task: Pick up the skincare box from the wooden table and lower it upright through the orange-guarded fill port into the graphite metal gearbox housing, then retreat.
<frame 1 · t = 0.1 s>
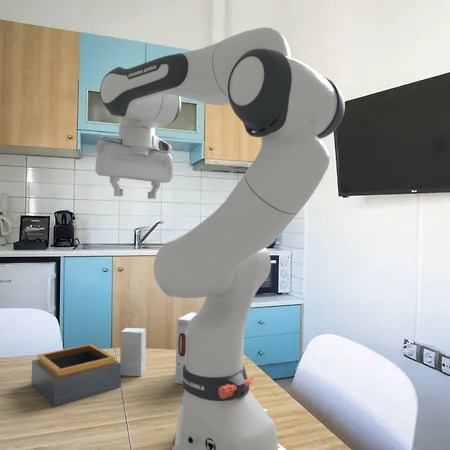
hand: (135, 197, 95), 48 cm above the table, fingers open, 8 cm apart
supplement box: (198, 380, 101), on the table
skincare box: (132, 374, 104), on the table
gearbox: (75, 385, 96), on the table
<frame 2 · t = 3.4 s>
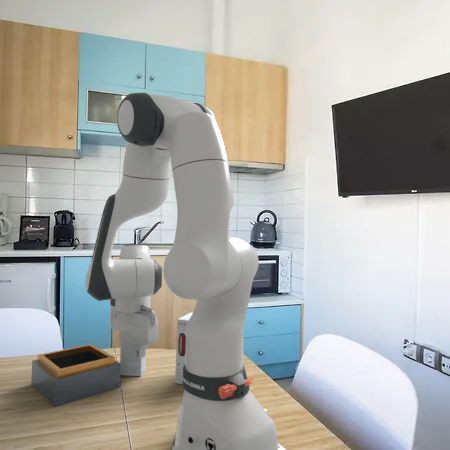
hand: (132, 352, 104), 6 cm above the table, fingers closed on skincare box, 7 cm apart
skincare box: (132, 373, 104), on the table, touching gripper
everything else where it was.
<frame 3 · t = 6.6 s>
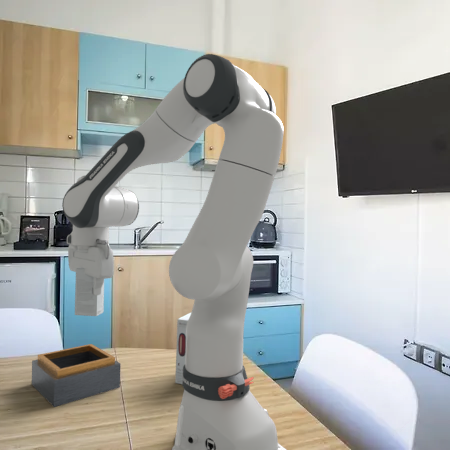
hand: (89, 292, 98), 23 cm above the table, fingers closed on skincare box, 7 cm apart
skincare box: (89, 314, 98), point 18 cm above the table, touching gripper
everything else where it was.
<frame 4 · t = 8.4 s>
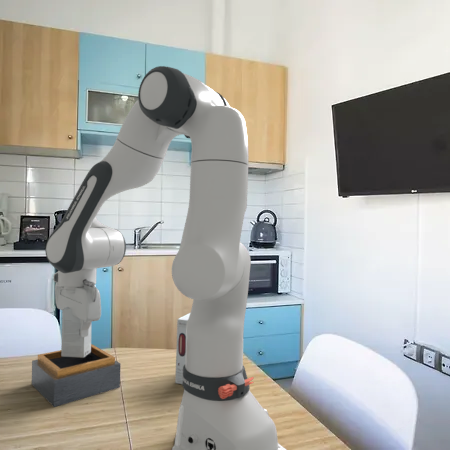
hand: (76, 332, 96), 13 cm above the table, fingers closed on skincare box, 7 cm apart
skincare box: (76, 355, 96), point 8 cm above the table, touching gripper
everything else where it was.
when the fingers open (9 cm above the table, at t = 9.9 s): skincare box drops 1 cm, resting on gearbox.
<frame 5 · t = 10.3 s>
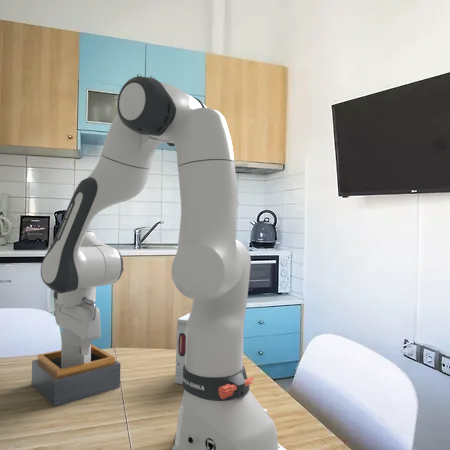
hand: (76, 349, 96), 9 cm above the table, fingers open, 8 cm apart
skincare box: (75, 378, 96), point 2 cm above the table, touching gearbox
everything else where it was.
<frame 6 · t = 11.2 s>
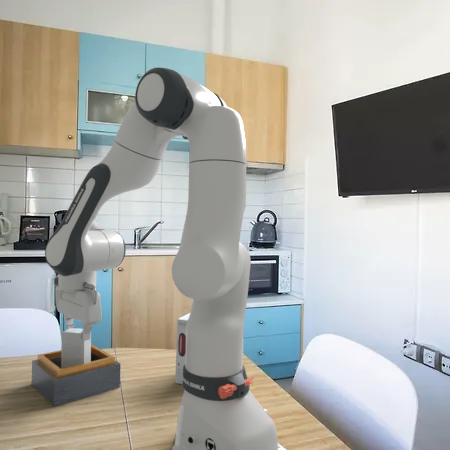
hand: (77, 335, 96), 13 cm above the table, fingers open, 8 cm apart
skincare box: (75, 378, 96), point 2 cm above the table, touching gearbox, gripper
everything else where it was.
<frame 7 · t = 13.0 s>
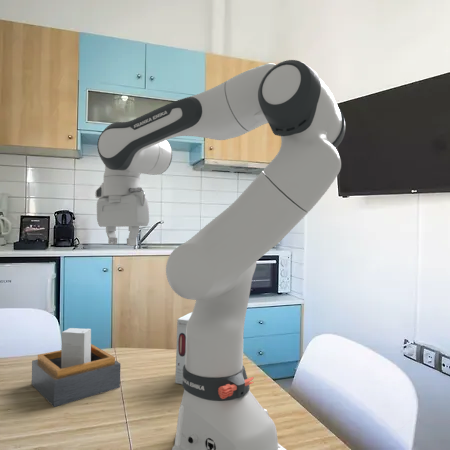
hand: (121, 245, 95), 36 cm above the table, fingers open, 8 cm apart
skincare box: (75, 378, 96), point 2 cm above the table, touching gearbox
everything else where it was.
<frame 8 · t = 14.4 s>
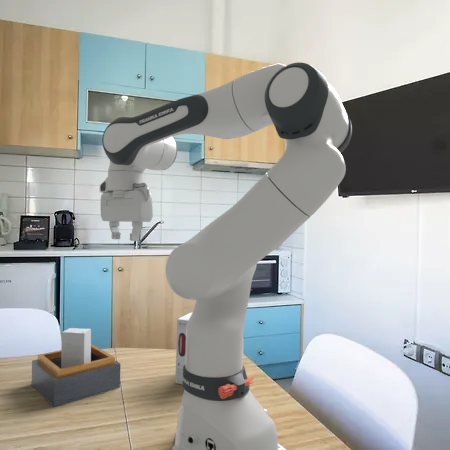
hand: (124, 240, 95), 37 cm above the table, fingers open, 8 cm apart
nothing on the table moved.
at the end: skincare box inside the target area on the gearbox (0.2 cm from its centre), point 1.8 cm above the gearbox's base; skincare box tilted 0°; the gripper is holding nothing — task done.
